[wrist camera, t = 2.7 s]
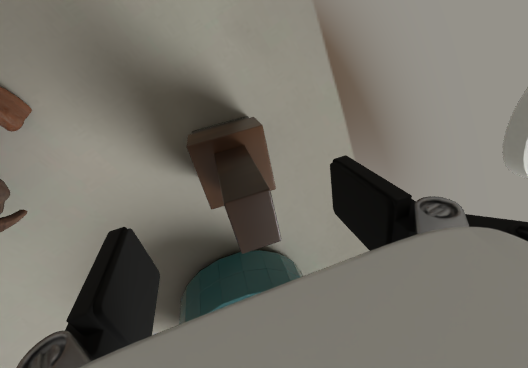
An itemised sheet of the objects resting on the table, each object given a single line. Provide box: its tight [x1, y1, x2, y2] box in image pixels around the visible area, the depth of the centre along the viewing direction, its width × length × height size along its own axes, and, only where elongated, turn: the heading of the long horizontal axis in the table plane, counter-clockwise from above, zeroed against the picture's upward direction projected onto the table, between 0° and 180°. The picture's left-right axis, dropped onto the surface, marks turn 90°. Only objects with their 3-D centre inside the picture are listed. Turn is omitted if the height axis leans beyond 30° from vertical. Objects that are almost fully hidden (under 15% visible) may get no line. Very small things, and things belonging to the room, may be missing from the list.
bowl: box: [179, 250, 303, 325], centre depth 25 cm, size 14×14×6 cm
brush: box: [187, 116, 281, 254], centre depth 15 cm, size 5×5×10 cm
